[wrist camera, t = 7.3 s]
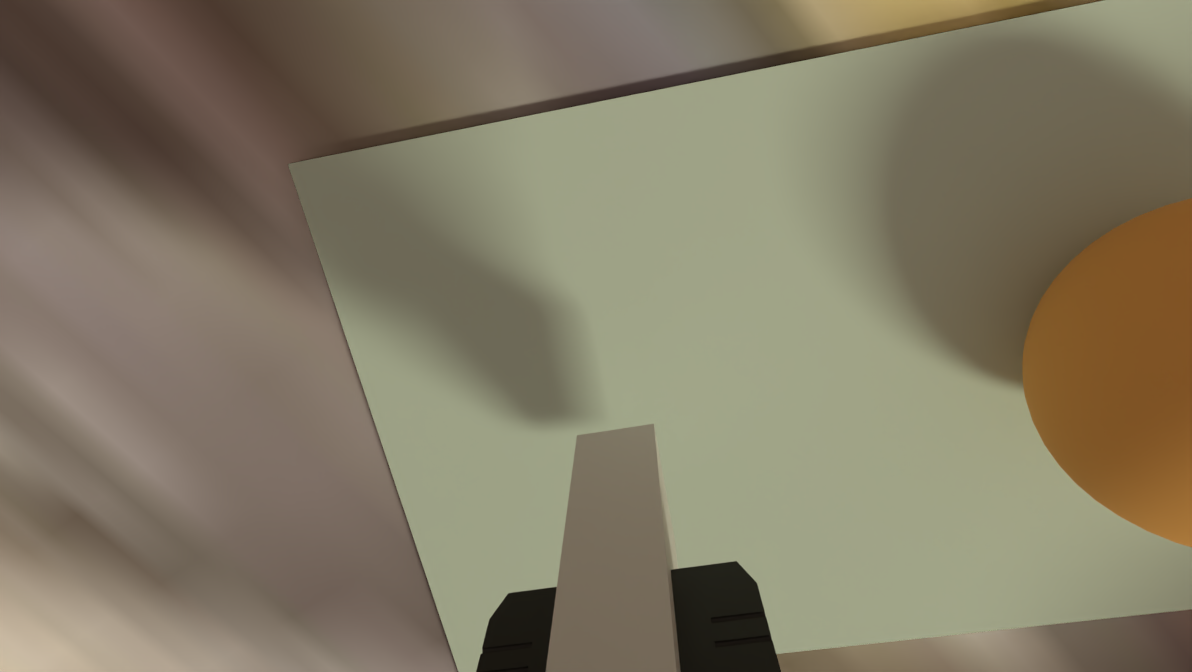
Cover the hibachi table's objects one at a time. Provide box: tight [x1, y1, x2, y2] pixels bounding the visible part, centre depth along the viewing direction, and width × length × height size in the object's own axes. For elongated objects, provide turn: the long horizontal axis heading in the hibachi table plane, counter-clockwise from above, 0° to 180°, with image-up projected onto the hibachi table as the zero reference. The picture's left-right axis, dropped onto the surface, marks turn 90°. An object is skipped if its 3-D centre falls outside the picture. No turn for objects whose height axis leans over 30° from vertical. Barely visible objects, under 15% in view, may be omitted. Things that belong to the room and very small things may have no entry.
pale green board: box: [288, 0, 1192, 672], centre depth 14 cm, size 32×14×1 cm, turn 101°
